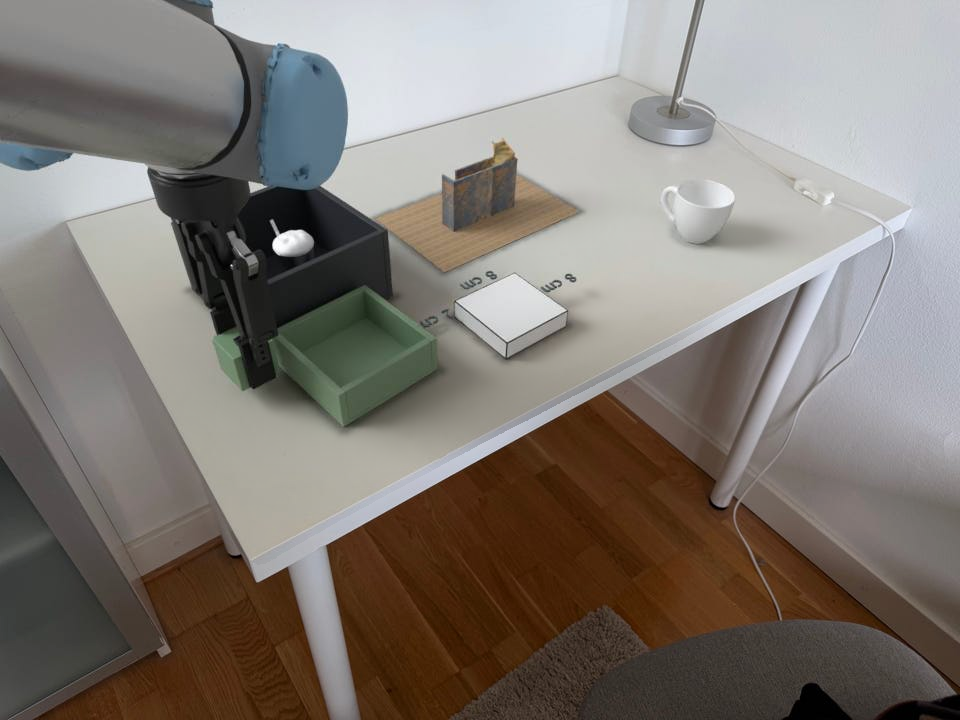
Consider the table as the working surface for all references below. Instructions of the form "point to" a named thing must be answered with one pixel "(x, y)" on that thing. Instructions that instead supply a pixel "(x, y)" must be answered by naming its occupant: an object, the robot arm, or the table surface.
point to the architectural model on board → (476, 212)
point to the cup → (698, 208)
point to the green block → (236, 357)
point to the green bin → (355, 353)
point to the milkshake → (292, 248)
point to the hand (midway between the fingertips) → (250, 368)
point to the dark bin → (315, 248)
